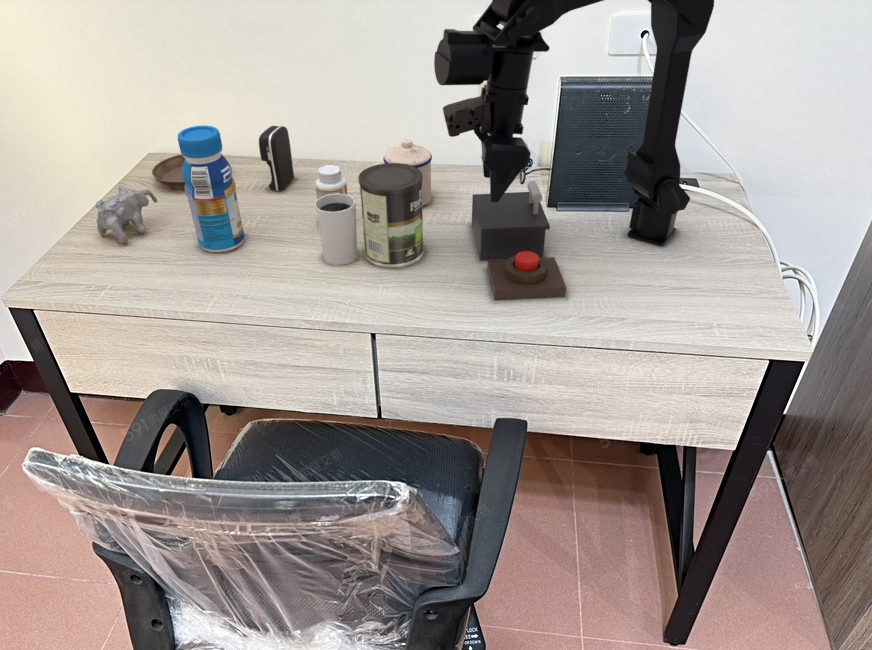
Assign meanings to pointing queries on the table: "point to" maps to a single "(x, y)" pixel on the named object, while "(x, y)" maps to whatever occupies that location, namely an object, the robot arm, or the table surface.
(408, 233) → the coffee can
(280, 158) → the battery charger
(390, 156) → the cream enamel canister
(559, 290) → the brown button base
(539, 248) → the black box
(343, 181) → the supplement bottle
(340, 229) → the white coffee mug
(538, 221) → the lid
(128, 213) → the gray elephant figurine
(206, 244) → the beverage bottle
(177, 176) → the saucer
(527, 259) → the release button
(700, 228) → the table surface
